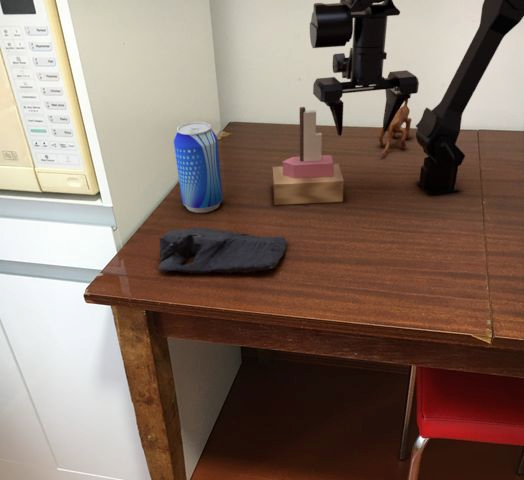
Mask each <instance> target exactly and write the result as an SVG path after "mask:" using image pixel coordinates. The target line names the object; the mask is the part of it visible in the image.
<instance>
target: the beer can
mask: <svg viewBox="0 0 524 480" xmlns="http://www.w3.org/2000/svg"><path fill="white" fill-rule="evenodd" d="M176 131H177V132H176V134H175V137H174V139H173V146H174V153H175V154H174V155H175V160H176V161H175V162H176V167H177V169H176V170H177V176H178V183H179V190H180V197H181V203H182V204H183V206H185V207H186V209H187V211H189V212H193V213H197V214H203V213H204V214H205V213H210V212H213V211H215V210H217V209H218V208H220V204H221V203H222V202H223V200H224V197H223V195H224V194H223V187H222V185H223V184H222V174H221V164H220V153H219V144H218V143H219V142H218V135H216V133H215V132H214V131H213V129H212V125H211V124H210V123H208V122H204V121H190V122H186V123H182V124H179V126H177V128H176Z"/></svg>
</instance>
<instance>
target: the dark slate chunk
mask: <svg viewBox="0 0 524 480" xmlns="http://www.w3.org/2000/svg"><path fill="white" fill-rule="evenodd" d="M287 245H288V242H287V240H286V237H284V236H261V235H253V234H252V235H251V234H247V233H241V232H238V231H237V232H235V231H229V230H221V229H213V228H201V227H198V228H197V227H190V228H187V229H175V230H169V231H167V232H166V234H163V236H161V237H160V238H159V255H160V258H159V259H160V263H159V265H158V268H157V270H159V271H160V272H165V273H171V272H182V273H184V274H186V273H190V274H194V273H197V274H209V273H220V274H221V273H222V274H223V273H228V274H233V273H244V274H245V273H251V274H255V273H257V272H260V271H267V270H271V269H272V270H273V269H274V268H275V267H276V266H277V265H278V264H279V261H280V259H281V258H282V257H283V256H284V252H285V251H286V249H287ZM190 256H194V257H193V262H190V263H187V264H185V262H186V261H187V259H188V257H190Z"/></svg>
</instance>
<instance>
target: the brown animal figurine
mask: <svg viewBox="0 0 524 480" xmlns="http://www.w3.org/2000/svg"><path fill="white" fill-rule="evenodd" d="M410 95H411V96H412V94H410ZM408 103H409V99H406V100H405V101H404V103H403V105H402V106H401V107H400V109H399V110H398V112H397V113H396V115H395V117H394V118H393V120H392V122H391V124H390V126H389V127H388V129H387V131H384V130H383V126H382V127H381V128H380V129H379V132H378V141H379V144H380V146H383V145H384V140H383V139H384V136H385V134H386V132H388V137H387V141H386V145H385V146H384V147H385V148H384V149H383V150H382V151H381V153H380V154H381V155H382V156H383V155H385V154H386V153H387V152H388V150H389V149H390V146H391V143H392V139H393V138H398V135H397V134H401V139H400V146H401V149H404V148H405V147H406V146H407V145H406V139H407V140H409V139H410V138H411V136H410V131H411V123H412V118H411V117H409V115H410V113H411V111H410V108H409V107H408ZM404 124H405V127H402V126H403V125H404Z"/></svg>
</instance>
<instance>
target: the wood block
mask: <svg viewBox="0 0 524 480" xmlns="http://www.w3.org/2000/svg"><path fill="white" fill-rule="evenodd" d="M343 177H344V176H343V174H342V171H341V167H340V164H339V163H334V167H333V176H332V177H312V178H291V177H288V176H285V175H283V165H282V166H272V185H273V186H272V188H273V189H272V190H273V201H274V206H280V205H283V206H284V205H301V204H304V205H305V204H320V203H322V204H323V203H324V204H325V203H341V202H344V183H345V181H344V180H345V179H344V178H343Z"/></svg>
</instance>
